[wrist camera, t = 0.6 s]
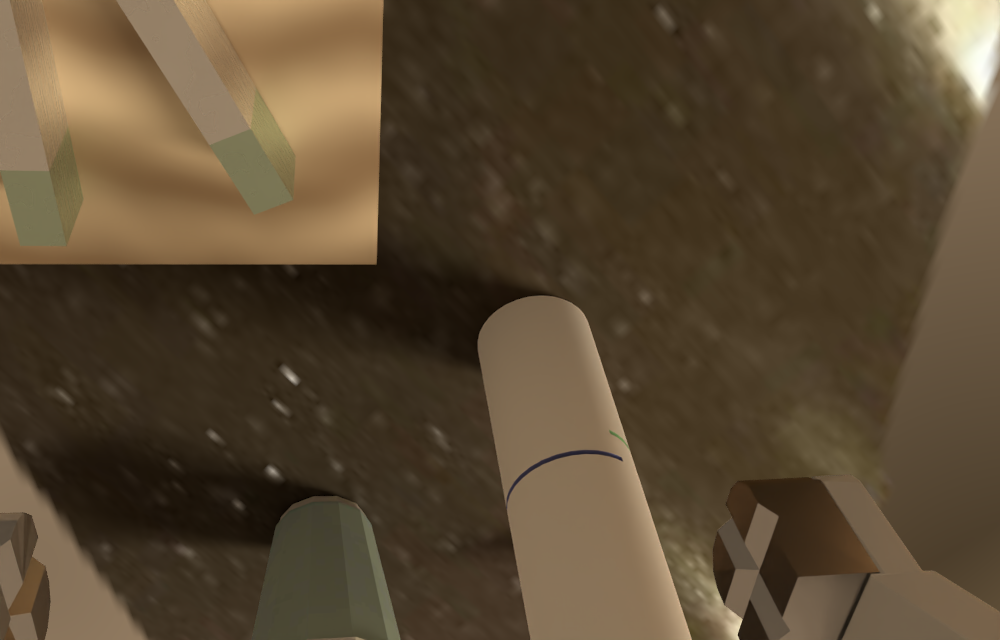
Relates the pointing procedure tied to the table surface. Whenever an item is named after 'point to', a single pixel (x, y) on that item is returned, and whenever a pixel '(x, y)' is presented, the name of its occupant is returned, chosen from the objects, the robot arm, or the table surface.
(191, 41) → the bar
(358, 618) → the disposable coffee cup
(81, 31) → the cutting board
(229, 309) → the table surface
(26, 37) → the bar
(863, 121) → the table surface
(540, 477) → the cylindrical container
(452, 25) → the table surface
